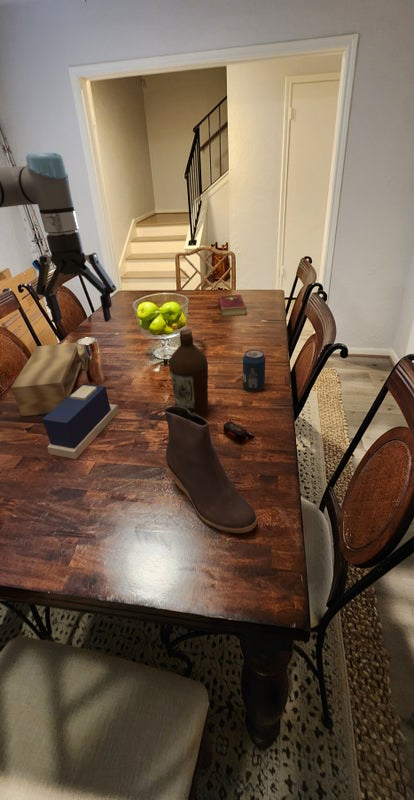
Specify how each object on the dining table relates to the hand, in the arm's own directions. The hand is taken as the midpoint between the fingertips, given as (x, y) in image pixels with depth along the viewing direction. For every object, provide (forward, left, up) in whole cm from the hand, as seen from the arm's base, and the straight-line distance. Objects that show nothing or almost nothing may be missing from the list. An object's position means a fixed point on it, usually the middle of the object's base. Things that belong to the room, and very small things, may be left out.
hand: (83, 320), depth 97 cm
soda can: (+47, +4, -28) cm, 55 cm away
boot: (+26, -42, -28) cm, 57 cm away
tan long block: (-18, +17, -28) cm, 37 cm away
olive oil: (+26, -6, -28) cm, 39 cm away
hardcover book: (+55, +83, -28) cm, 103 cm away
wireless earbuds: (+37, -21, -28) cm, 51 cm away
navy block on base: (-4, -10, -28) cm, 30 cm away
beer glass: (-5, +20, -28) cm, 35 cm away
